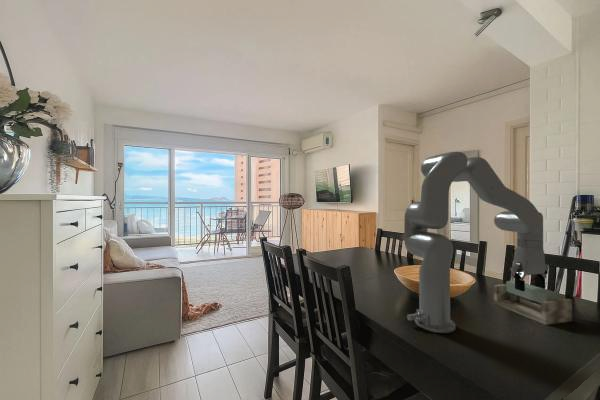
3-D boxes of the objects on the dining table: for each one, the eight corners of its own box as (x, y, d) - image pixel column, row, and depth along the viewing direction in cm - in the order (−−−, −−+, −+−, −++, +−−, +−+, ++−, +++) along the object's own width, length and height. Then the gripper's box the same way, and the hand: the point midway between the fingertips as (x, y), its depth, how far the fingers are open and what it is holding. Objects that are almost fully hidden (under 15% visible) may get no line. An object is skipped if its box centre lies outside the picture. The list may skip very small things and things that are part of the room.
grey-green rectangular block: (506, 291, 106) (506, 281, 106) (515, 290, 108) (515, 280, 107) (545, 305, 93) (545, 293, 93) (556, 303, 94) (556, 292, 94)
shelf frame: (545, 324, 90) (545, 302, 90) (494, 303, 108) (494, 285, 108) (572, 320, 92) (572, 299, 92) (517, 300, 111) (517, 282, 111)
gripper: (536, 241, 105) (537, 284, 106) (501, 243, 102) (502, 287, 102) (558, 244, 98) (559, 290, 98) (522, 247, 94) (522, 294, 95)
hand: (530, 288), depth 100 cm, fingers open, 9 cm apart
